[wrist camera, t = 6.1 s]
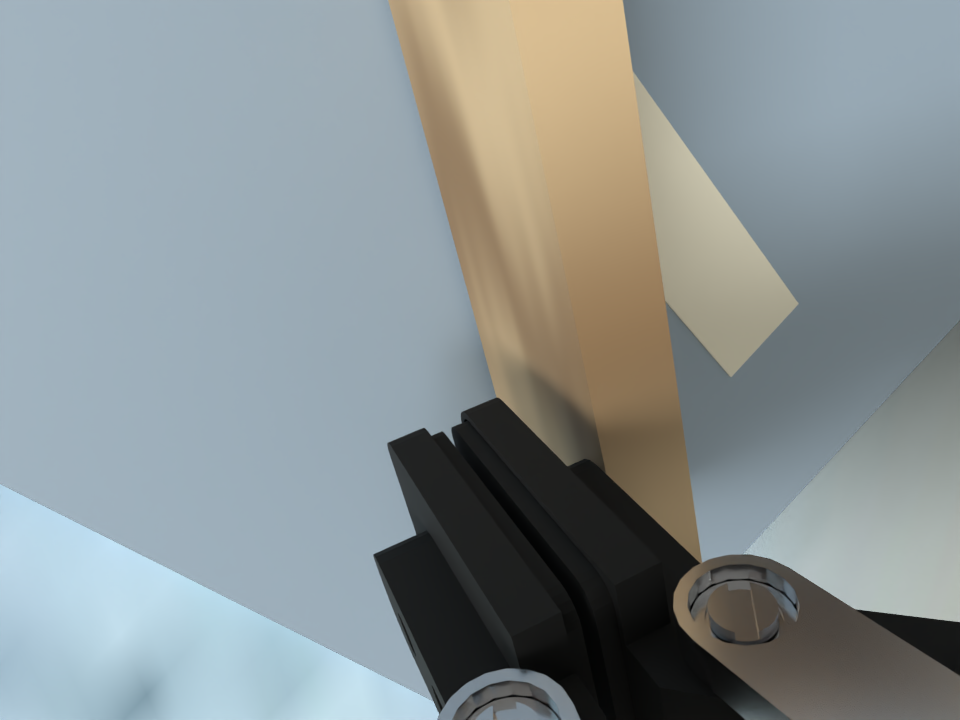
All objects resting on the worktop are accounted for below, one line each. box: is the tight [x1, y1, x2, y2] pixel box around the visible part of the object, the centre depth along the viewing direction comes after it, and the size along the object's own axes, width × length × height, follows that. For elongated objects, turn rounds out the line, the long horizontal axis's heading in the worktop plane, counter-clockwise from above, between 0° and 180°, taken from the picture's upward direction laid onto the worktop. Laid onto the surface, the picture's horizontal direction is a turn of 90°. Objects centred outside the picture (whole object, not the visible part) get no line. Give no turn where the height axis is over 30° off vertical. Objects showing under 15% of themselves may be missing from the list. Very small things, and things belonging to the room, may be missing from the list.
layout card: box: [0, 0, 960, 701], centre depth 13 cm, size 20×20×1 cm
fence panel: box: [388, 0, 702, 563], centre depth 12 cm, size 10×2×4 cm, turn 15°
